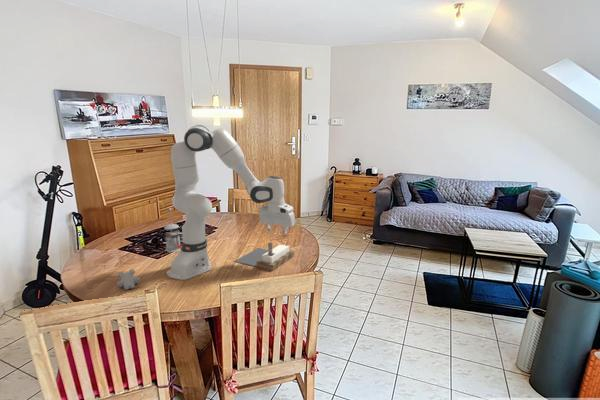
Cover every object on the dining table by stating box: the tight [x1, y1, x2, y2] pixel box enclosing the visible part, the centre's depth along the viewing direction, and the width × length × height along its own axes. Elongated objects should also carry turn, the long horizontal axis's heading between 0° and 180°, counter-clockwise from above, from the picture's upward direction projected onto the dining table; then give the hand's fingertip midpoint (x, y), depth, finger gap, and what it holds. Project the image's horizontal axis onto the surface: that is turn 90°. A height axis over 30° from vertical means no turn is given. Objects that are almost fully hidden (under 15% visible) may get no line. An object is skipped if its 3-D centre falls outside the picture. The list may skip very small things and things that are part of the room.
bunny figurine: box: [116, 269, 141, 291], centre depth 158 cm, size 10×5×15 cm
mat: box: [234, 247, 268, 267], centre depth 189 cm, size 22×13×1 cm, turn 152°
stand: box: [256, 242, 295, 272], centre depth 182 cm, size 22×10×12 cm, turn 152°
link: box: [262, 244, 290, 263], centre depth 182 cm, size 18×6×3 cm, turn 152°
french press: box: [163, 207, 182, 253], centre depth 198 cm, size 10×12×25 cm
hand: (277, 232), depth 181 cm, fingers open, 8 cm apart
